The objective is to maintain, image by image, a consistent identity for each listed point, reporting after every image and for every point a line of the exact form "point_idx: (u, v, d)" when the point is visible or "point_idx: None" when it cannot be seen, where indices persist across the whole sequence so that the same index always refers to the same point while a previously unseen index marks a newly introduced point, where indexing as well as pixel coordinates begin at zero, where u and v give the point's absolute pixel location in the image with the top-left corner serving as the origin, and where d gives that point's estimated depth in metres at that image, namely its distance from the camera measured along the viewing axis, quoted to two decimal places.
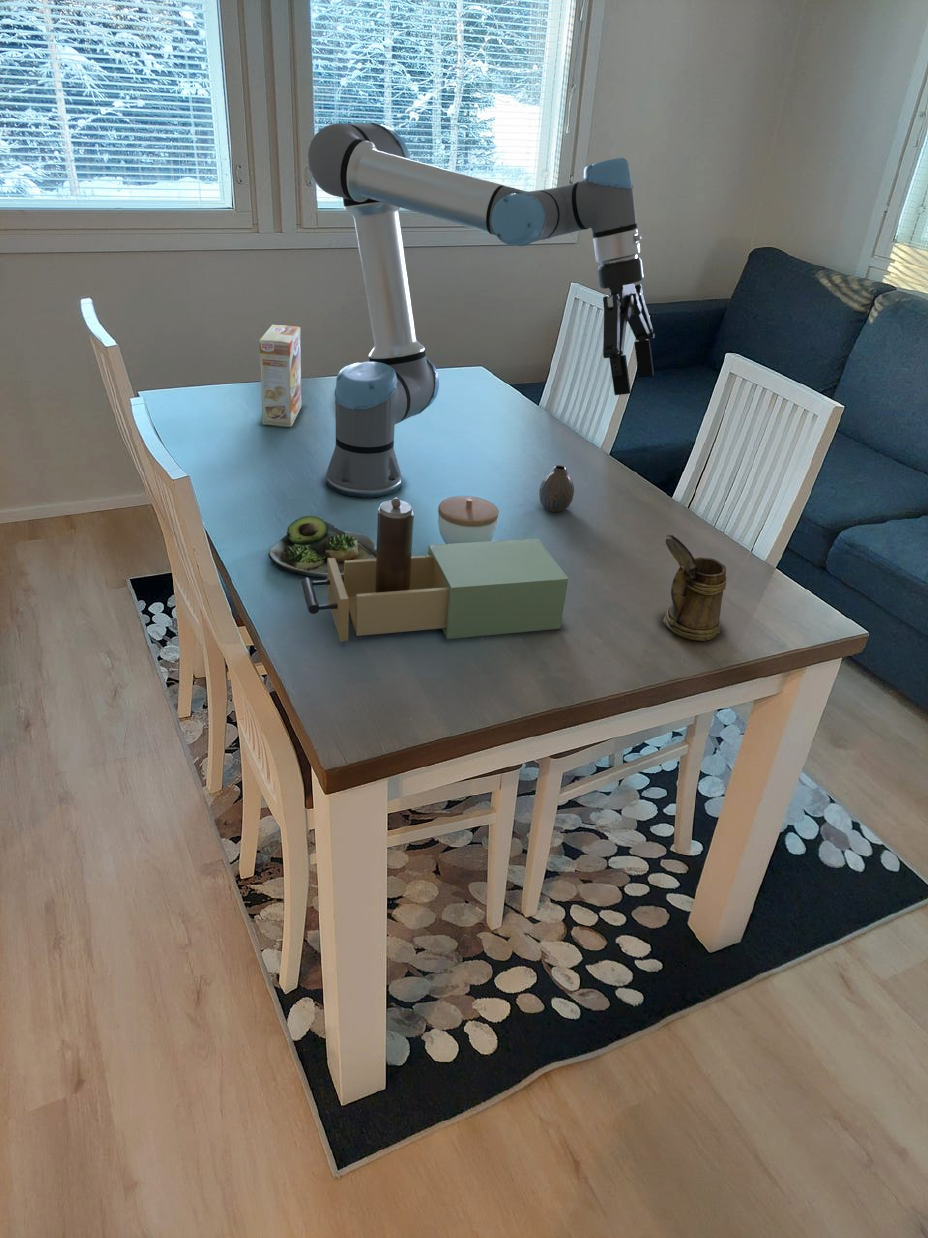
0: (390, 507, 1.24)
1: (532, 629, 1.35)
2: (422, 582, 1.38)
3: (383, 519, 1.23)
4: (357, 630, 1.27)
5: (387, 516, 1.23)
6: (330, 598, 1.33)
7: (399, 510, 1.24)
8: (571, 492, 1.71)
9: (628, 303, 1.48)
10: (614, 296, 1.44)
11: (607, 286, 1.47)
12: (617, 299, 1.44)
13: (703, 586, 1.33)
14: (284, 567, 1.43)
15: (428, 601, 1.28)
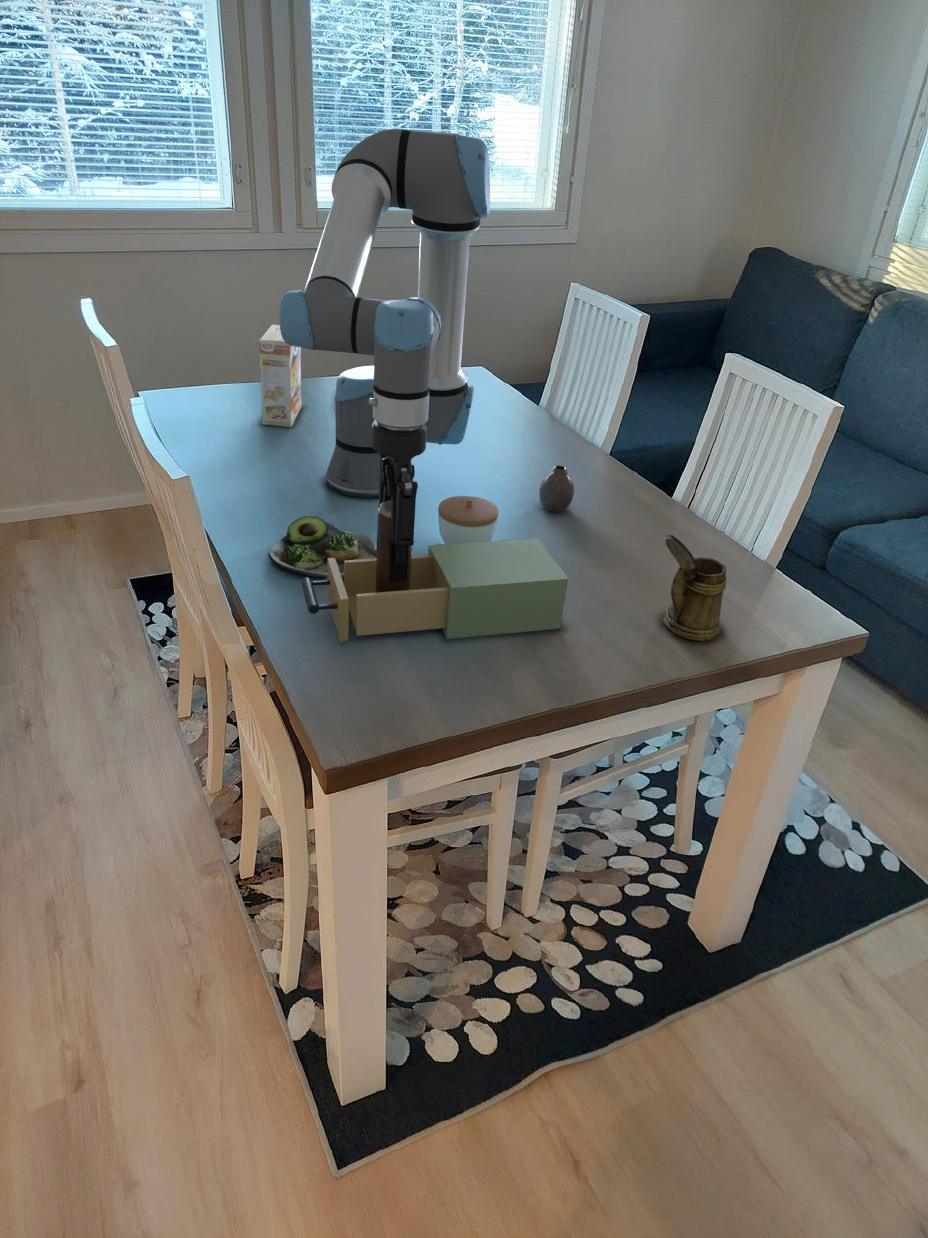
0: (390, 507, 1.24)
1: (532, 629, 1.35)
2: (422, 582, 1.38)
3: (383, 519, 1.23)
4: (357, 630, 1.27)
5: (387, 516, 1.23)
6: (330, 598, 1.33)
7: None
8: (571, 492, 1.71)
9: None
10: None
11: None
12: (380, 453, 1.26)
13: (703, 586, 1.33)
14: (284, 567, 1.43)
15: (428, 601, 1.28)
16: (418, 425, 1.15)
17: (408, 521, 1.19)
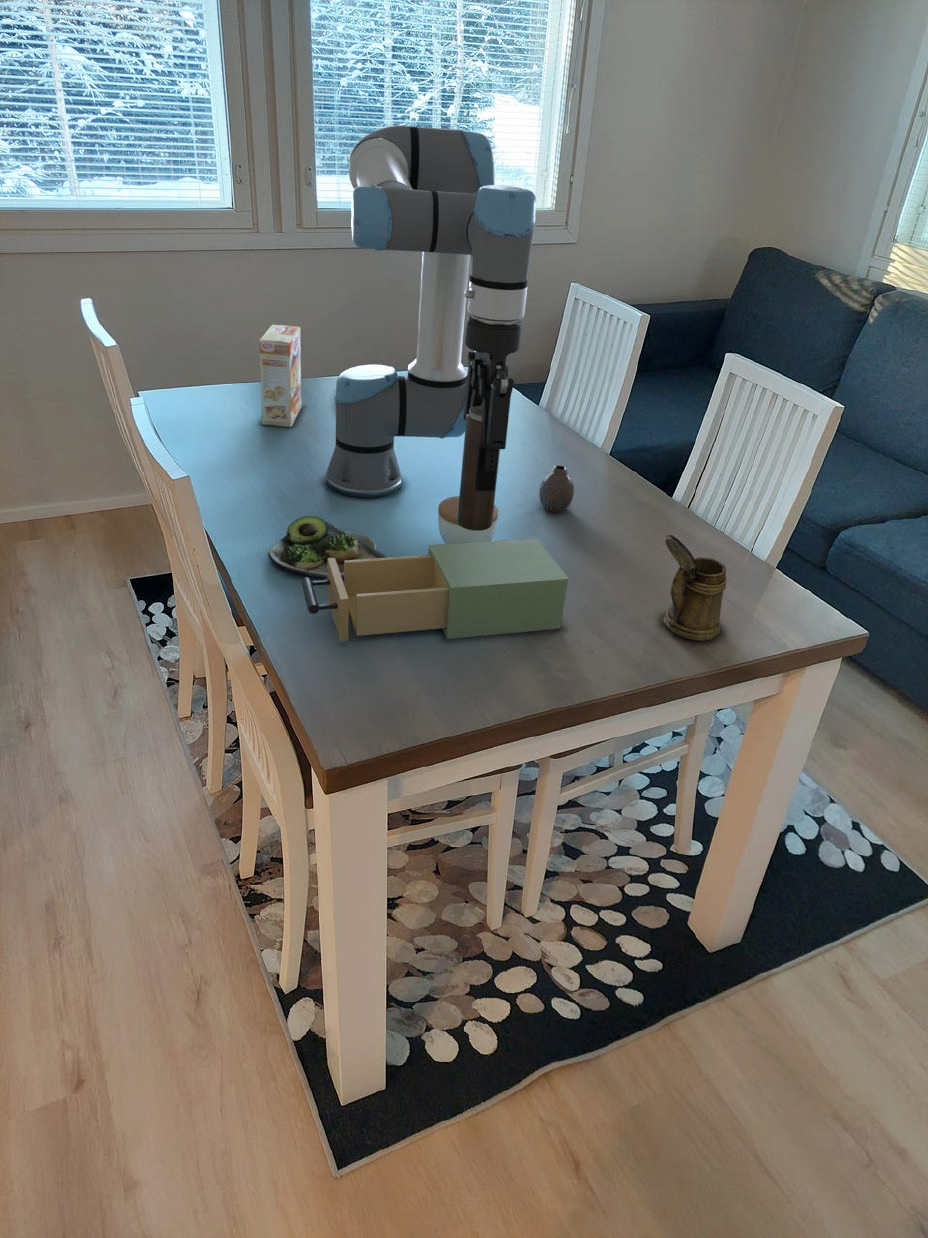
0: (479, 411, 1.20)
1: (532, 629, 1.35)
2: (422, 582, 1.38)
3: (472, 423, 1.19)
4: (357, 630, 1.27)
5: (477, 420, 1.19)
6: (330, 598, 1.33)
7: None
8: (571, 492, 1.71)
9: None
10: None
11: None
12: (468, 357, 1.22)
13: (703, 586, 1.33)
14: (284, 567, 1.43)
15: (428, 601, 1.28)
16: (516, 319, 1.11)
17: (501, 422, 1.15)
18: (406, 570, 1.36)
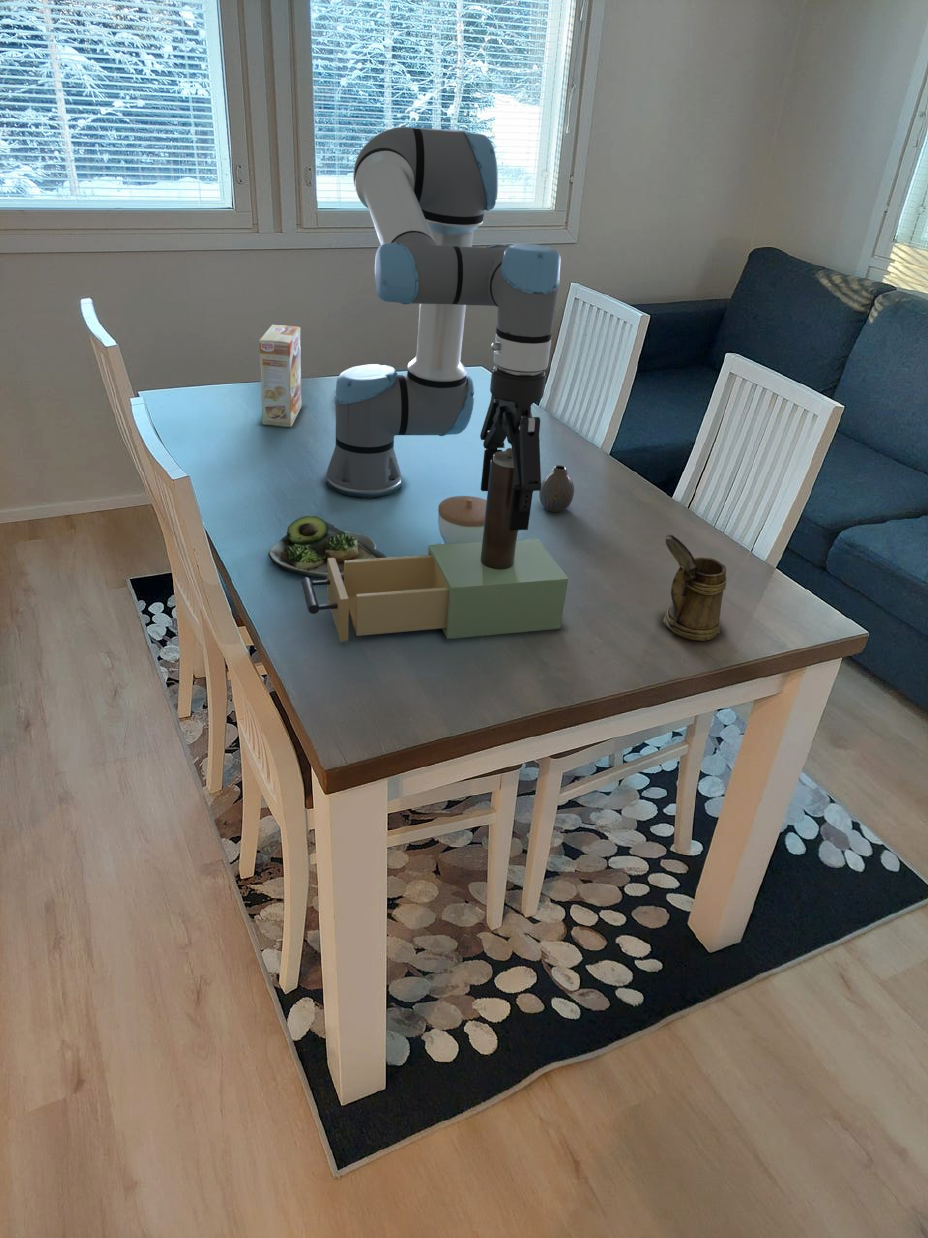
0: (503, 457, 1.25)
1: (532, 629, 1.35)
2: (422, 582, 1.38)
3: (497, 469, 1.24)
4: (357, 630, 1.27)
5: (502, 465, 1.24)
6: (330, 598, 1.33)
7: None
8: (571, 492, 1.71)
9: None
10: None
11: None
12: None
13: (703, 586, 1.33)
14: (284, 567, 1.43)
15: (428, 601, 1.28)
16: (540, 370, 1.16)
17: (534, 461, 1.17)
18: (406, 570, 1.36)
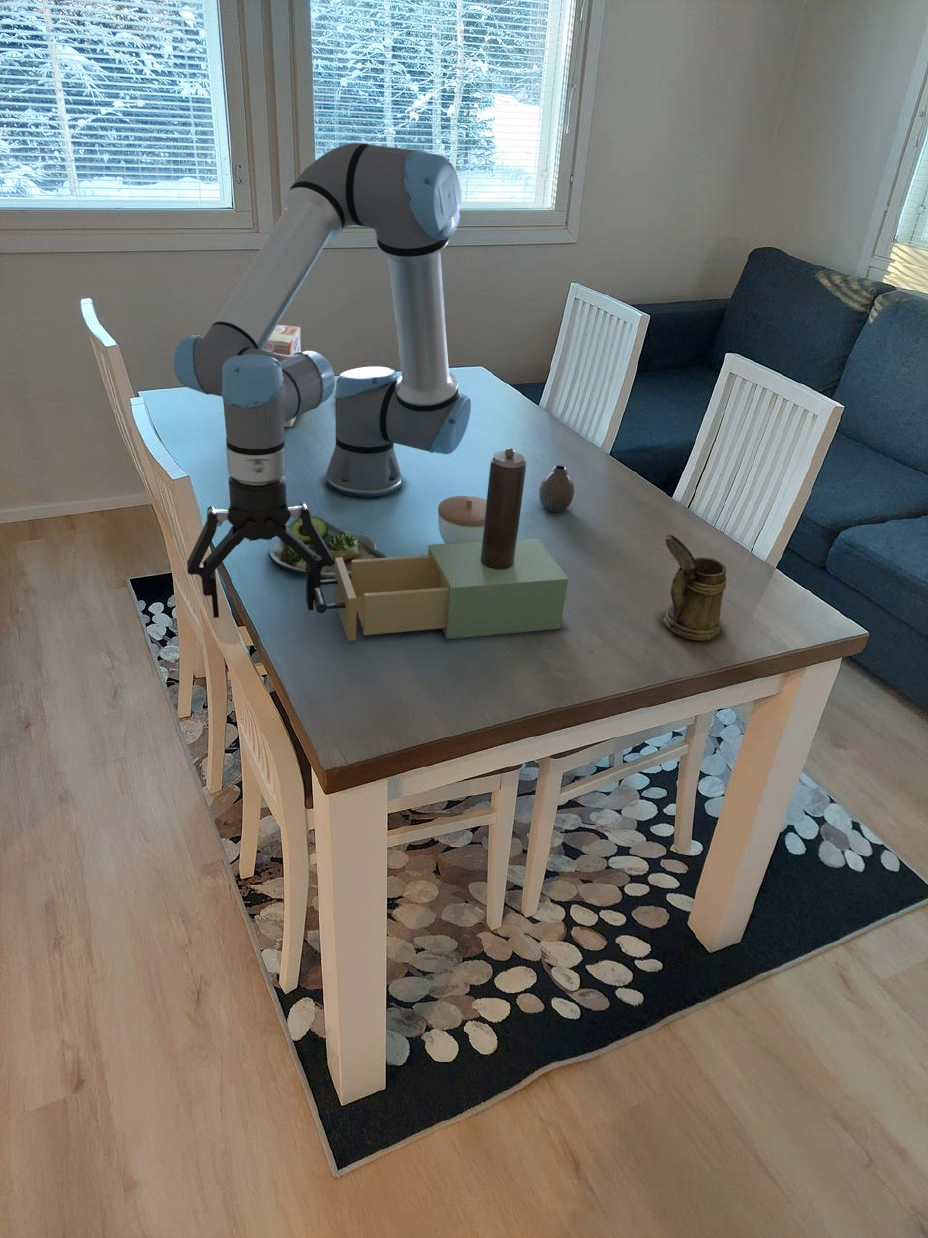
0: (503, 457, 1.25)
1: (532, 629, 1.35)
2: (429, 581, 1.39)
3: (497, 469, 1.24)
4: (365, 629, 1.28)
5: (502, 465, 1.24)
6: (337, 597, 1.34)
7: (513, 460, 1.24)
8: (571, 492, 1.71)
9: (242, 527, 1.18)
10: (208, 514, 1.16)
11: None
12: (210, 519, 1.16)
13: (703, 586, 1.33)
14: (284, 567, 1.43)
15: (435, 601, 1.29)
16: None
17: (321, 537, 1.24)
18: (413, 570, 1.37)
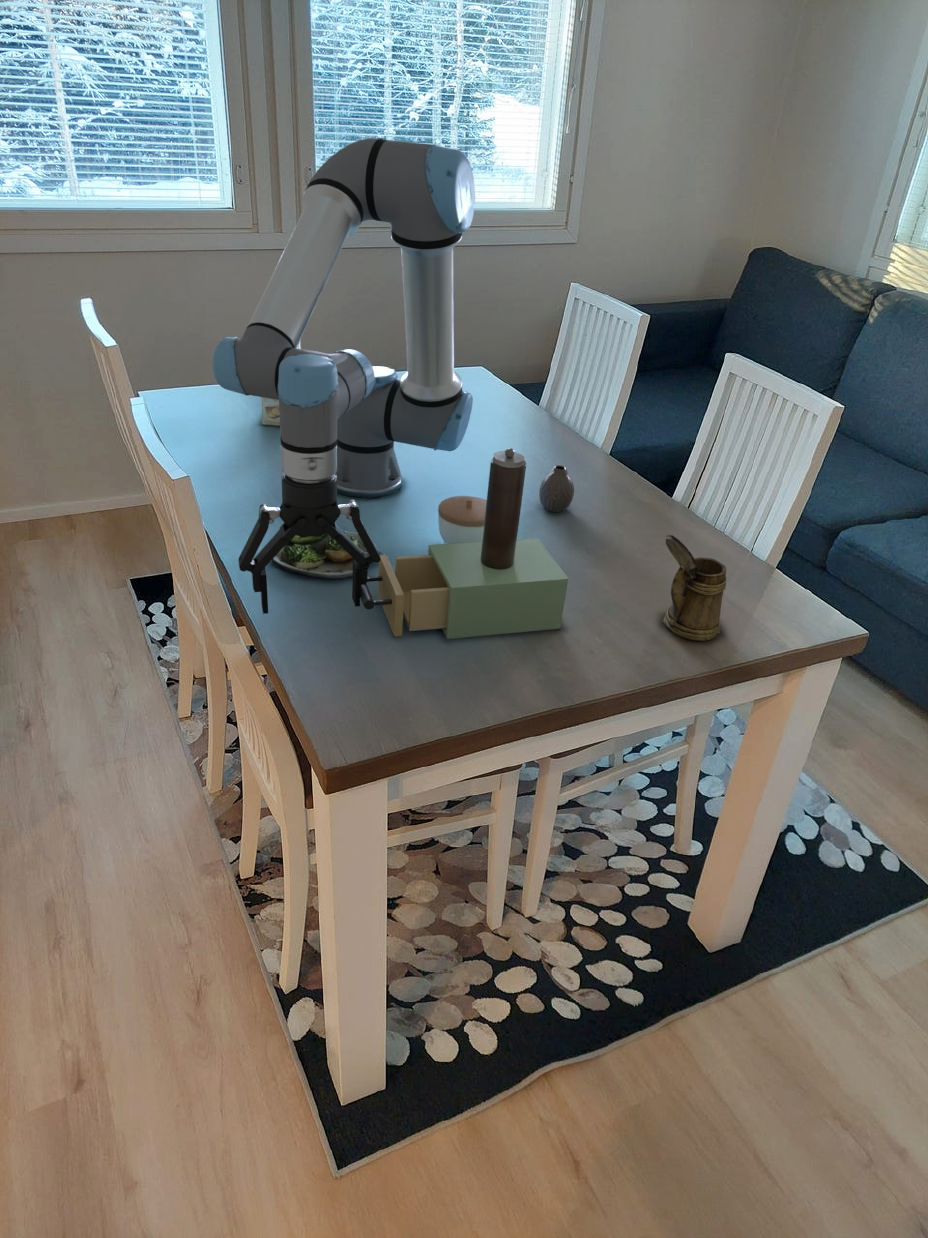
0: (503, 457, 1.25)
1: (532, 629, 1.35)
2: None
3: (497, 469, 1.24)
4: (410, 625, 1.30)
5: (502, 465, 1.24)
6: (382, 594, 1.35)
7: (513, 460, 1.24)
8: (571, 492, 1.71)
9: (293, 525, 1.20)
10: (261, 511, 1.18)
11: None
12: (263, 516, 1.18)
13: (703, 586, 1.33)
14: (284, 567, 1.43)
15: None
16: None
17: (368, 534, 1.26)
18: None
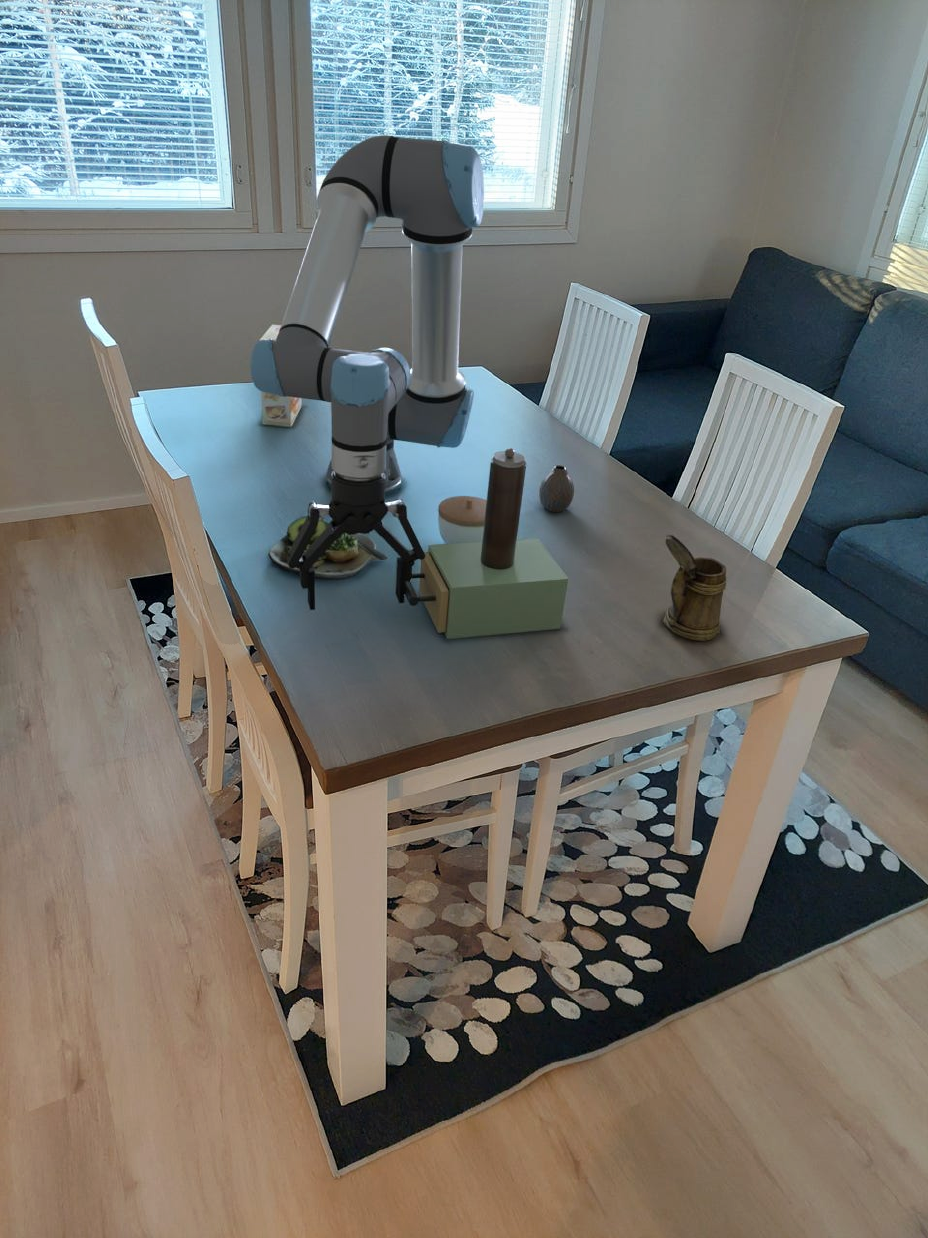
0: (503, 457, 1.25)
1: (532, 629, 1.35)
2: None
3: (497, 469, 1.24)
4: None
5: (502, 465, 1.24)
6: (424, 591, 1.37)
7: (513, 460, 1.24)
8: (571, 492, 1.71)
9: (342, 522, 1.22)
10: (311, 509, 1.20)
11: None
12: (312, 514, 1.20)
13: (703, 586, 1.33)
14: (284, 567, 1.43)
15: None
16: None
17: None
18: None
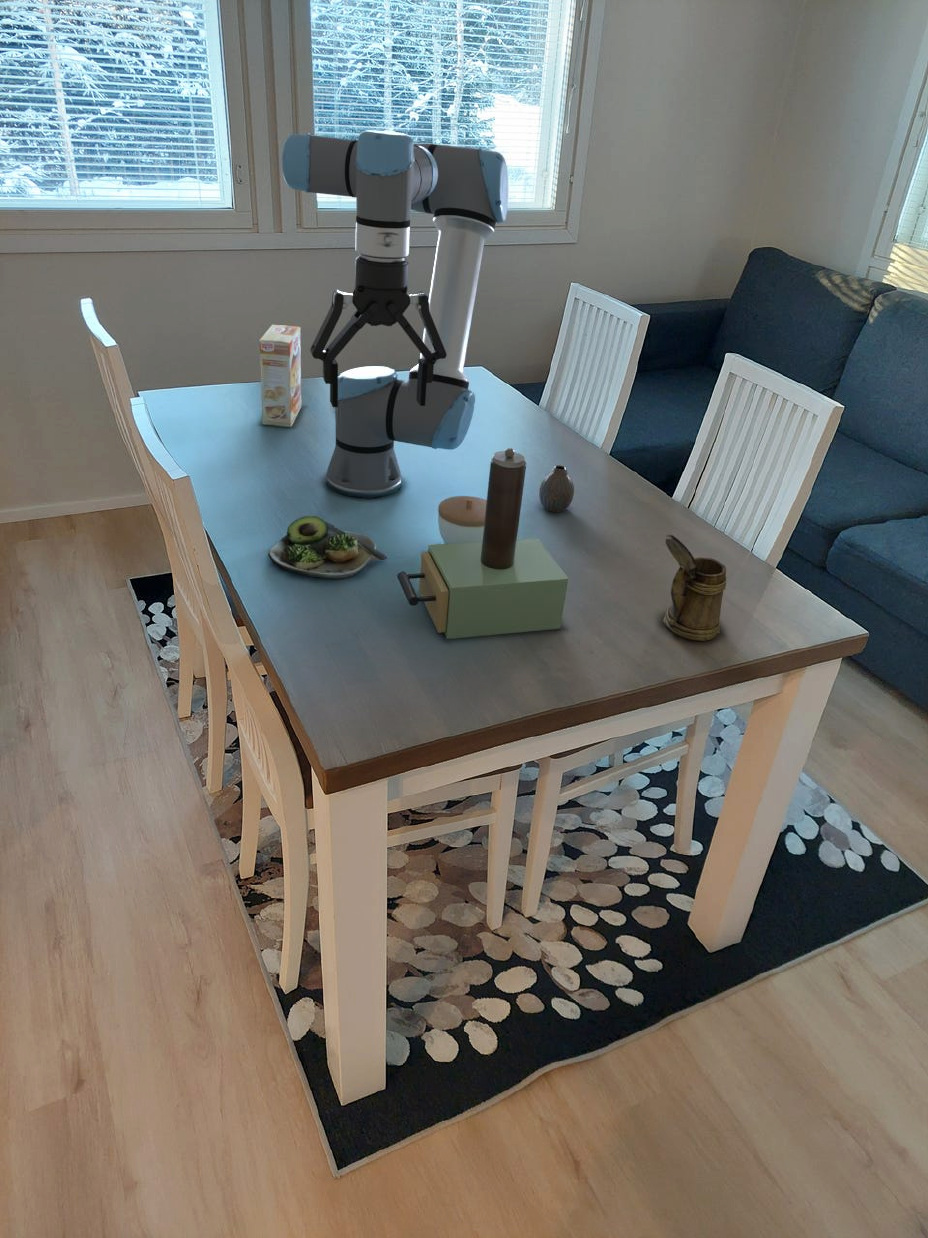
0: (503, 457, 1.25)
1: (532, 629, 1.35)
2: None
3: (497, 469, 1.24)
4: None
5: (502, 465, 1.24)
6: (424, 591, 1.37)
7: (513, 460, 1.24)
8: (571, 492, 1.71)
9: (366, 310, 1.24)
10: (335, 294, 1.22)
11: None
12: (337, 299, 1.22)
13: (703, 586, 1.33)
14: (284, 567, 1.43)
15: None
16: None
17: None
18: None
